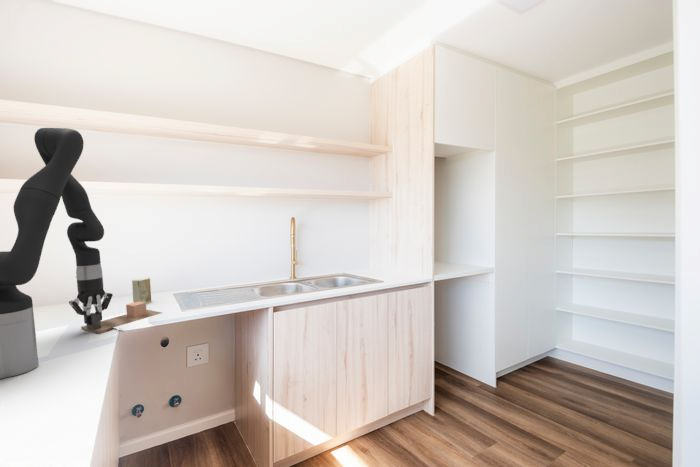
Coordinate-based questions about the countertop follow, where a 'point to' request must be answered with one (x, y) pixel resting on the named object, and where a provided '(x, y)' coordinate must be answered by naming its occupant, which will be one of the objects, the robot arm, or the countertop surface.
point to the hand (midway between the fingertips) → (93, 323)
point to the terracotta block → (136, 309)
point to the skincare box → (141, 290)
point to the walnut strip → (112, 322)
